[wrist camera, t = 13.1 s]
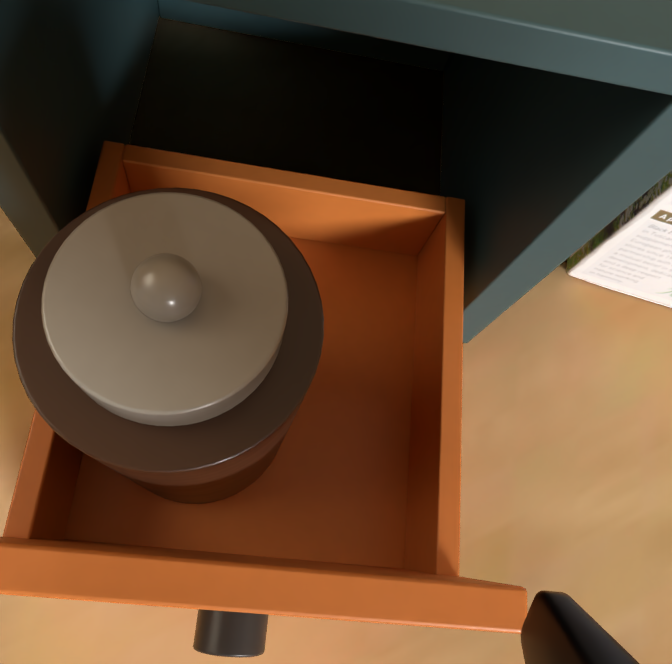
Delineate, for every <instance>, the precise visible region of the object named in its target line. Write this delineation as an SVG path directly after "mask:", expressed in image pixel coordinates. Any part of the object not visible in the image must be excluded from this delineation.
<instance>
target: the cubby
mask: <svg viewBox="0 0 672 664" xmlns="http://www.w3.org/2000/svg"><path fill="white" fill-rule="evenodd" d="M159 16H160V17H161V18H165V19H170V20H175V21H180V22H186V23H191V24H196V25H201V26H207V27H212V28H217V29H222V30H228V31H233V32H238V33H243V34H248V35H254V36H259V37H264V38H269V39H275V40H280V41H285V42H290V43H296V44H301V45H306V46H311V47H317V48H322V49H327V50H332V51H338V52H343V53H348V54H353V55H358V56H364V57H369V58H374V59H379V60H385V61H390V62H395V63H400V64H406V65H411V66H416V67H421V68H427V69H432V70H437V71H443V70H444V78H443V109H442V140H441V171H440V196H444V197H445V198H446V197H453V198H459V199H464V200H465V233H464V296H463V343H468V342H469V341H470V340H471V339H472V338H474V337H475V336H476V335H477V334H478V333H479V332H481V331H482V330H483V329H484V328H485V327H487V326H488V325H489V324H490V323H491V322H492V321H494V320H495V319H496V318H497V317H498V316H500V315H501V314H502V313H503V312H504V311H506V310H507V309H508V308H509V307H510V306H511V305H513V304H514V303H515V302H516V301H517V300H519V299H520V298H521V297H522V296H523V295H524V294H526V293H527V292H528V291H529V290H530V289H532V288H533V287H534V286H535V285H536V284H538V283H539V282H540V281H541V280H542V279H543V278H545V277H546V276H547V275H548V274H549V273H551V272H552V271H553V270H554V269H555V268H556V267H558V266H559V265H560V264H561V263H562V262H564V261H565V260H566V259H567V258H568V257H570V256H571V255H572V254H573V253H574V252H575V251H577V250H578V249H579V248H580V247H581V246H583V245H584V244H585V243H586V242H587V241H588V240H590V239H591V238H592V237H593V236H594V235H596V234H597V233H598V232H599V231H600V230H602V229H603V228H604V227H605V226H606V225H607V224H609V223H610V222H611V221H612V220H613V219H615V218H616V217H617V216H618V215H619V214H620V213H622V212H623V211H624V210H625V209H626V208H628V207H629V206H630V205H631V204H632V203H634V202H635V201H636V200H637V199H638V198H639V197H641V196H642V195H643V194H644V193H645V192H647V191H648V190H649V189H650V188H651V187H652V186H654V185H655V184H656V183H657V182H658V181H660V180H661V179H662V178H663V177H664V176H666V175H667V174H668V173H669V172H670V171H671V170H672V0H0V207H1V208H2V209H3V211H4V212H5V214H6V215H7V217H8V218H9V219H10V221H11V222H12V224H13V225H14V227H15V228H16V230H17V231H18V232H19V234H20V235H21V237H22V238H23V240H24V241H25V242H26V244H27V245H28V247H29V248H30V250H31V251H32V252H33V254H34V255H35V257H36V258H37V257H38V255H39V254H40V252H41V251H42V249H43V248H44V247H45V246H46V245H47V244H48V242H49V241H50V240H51V239H52V238H53V237H54V236H55V235H56V234H57V233H58V232H59V231H60V230H61V229H63V228H64V227H65V226H66V225H67V224H68V223H69V222H71V221H72V220H74V219H75V218H77V217H78V216H80V215H81V214H83V213H84V212H86V208H87V204H88V200H89V196H90V193H91V189H92V185H93V181H94V177H95V173H96V169H97V165H98V161H99V157H100V153H101V149H102V146H103V142H104V141H112V142H118V143H123V144H124V145H125V146H126V144H129V142H130V138H131V133H132V129H133V125H134V121H135V117H136V112H137V108H138V104H139V100H140V96H141V91H142V87H143V83H144V79H145V75H146V70H147V66H148V62H149V58H150V54H151V50H152V45H153V41H154V37H155V33H156V29H157V24H158V20H159Z"/></svg>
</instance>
